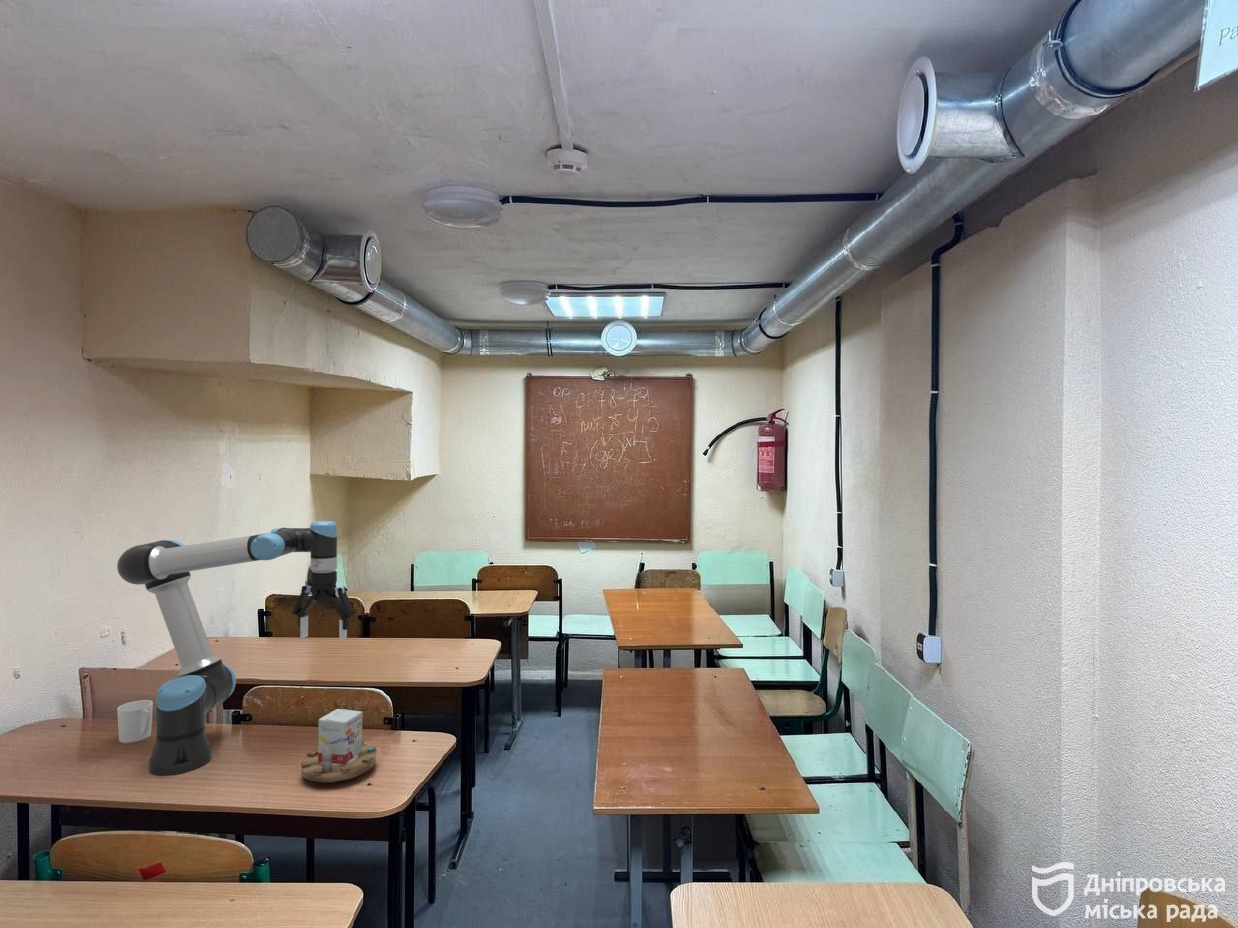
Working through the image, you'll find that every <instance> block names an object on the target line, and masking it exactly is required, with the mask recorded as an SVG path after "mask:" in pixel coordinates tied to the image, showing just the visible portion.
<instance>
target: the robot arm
mask: <svg viewBox="0 0 1238 928" xmlns="http://www.w3.org/2000/svg"><path fill="white" fill-rule="evenodd" d="M337 526H338V525H337V523H336V522H335V521H332V520H331V521H329V520H320V521H319V520H318V521H313V522H311V523H310V526H309V527H306V528H304V527H280V528H279V527H276V528H272V529H271V531H270V532H267V533H261V534H254V535H248V536H241V537H233V538H227V539H221V540H214V541H207V542H201V543H195V544H194V543H193V544H186V545H185V544H184V543H182V542H180V541H178V540H173V539H167V540H166V539H164V540H163V539H161V540H157V541H153V542H149V543H145V544H138V545H134V546H132V547H130V548H128V549H126V550H125V551H124V552H123V553H122V554H121V555H120V557H119V558H118V560H117V564H116V565H117V566H116V567H117V568H116V569H117V573H118V574H119V577H120V578H122V580H124V581H125V582H127V583H129V584H132V585H137V586H139V585H144V586H145V589H146V591H147V592H149V593H152V594H154V596H155V598H156V600H157V603H158V606H159V609H160V612H161V615H162V616H163V619H164V620H163V621H164V623H165V625H166V626H165V627H166V628H167V631H168V633H169V637H170V638H171V642H172V644H173V647H174V650H175V652H176V653H175V654H176V655H177V659H178V661H179V664H180V667H181V669H180V670H179V671H178V674H177V676H178V677H177V678H173V679H169V680H168V681H166V682H164V683H163V684H162V685H161V686H160V687H159V689H158V690H157V691H156V692H157V693H156V699H155V706H156V742H155V743H154V747H153V749H152V753H151V756H150V758H149V760H148V772H149V773H151V774H153V775H157V776H172V775H178V774H182V773H186V772H190V771H192V770H195V769H198V768H200V767H203V766H204V765H205V764H207V763H209V762H210V761H211V759H212V758H213V748H212V745H211V744H210V741H209V737H208V734H207V733H206V714H208V713H209V712H210V711H212V710H214V709H215V708H216V707H217V706H220V705H221V704H223V703H224V702H225V701H226V700H228V698H230V696H231V695H232V694H233V693H234V691H235V688H236V685H237V678H236V674H235V671H234V670H233V669H232V668H231V667H230V666H227V664H223V661H222V658H221V657H220V656H217V655H215V654H214V653H213V651H212V647H211V644H210V642H209V639H208V637H207V634H206V631H205V628H204V625H203V622H202V620H201V617H200V615H199V612H198V608H197V606H196V603H195V601H194V598H193V595H192V592H191V590H190V589H191V588H190V587H189V584H188V583H189V581H190V579H191V577H192V574H191V573H190V572H195V571H199V570H205V569H206V570H207V569H211V568H219V567H224V566H231V565H237V564H244V563H249V562H250V563H252V562H256V561H258V562H259V561H271V560H274V559H276V558H279V557H283V556H284V555H285V556H286V555H288V554H292V553H310V570H311V572H310V580H309V581H310V584H305V585H302V586H301V592H300V595H299V597H298V599H297V601H296V604H295V605H294V608H293V610H292V615H294V616H296V617H297V618H298V621H297V623H298V624H297V625H298V628H299V632H300V633H299V636H300V637H299V638H300V639H305V638H306V637H309V615H307V613H308V612H309V611H310V610H311V608H312V607H313V606H314V605H315V603H316V602H320V601H322V602H328V603H329V604H331V607H333V609H334V610H335V611H336V612H337V614H338V616H339V617H340V618H341V619H339V624H338V625H339V627H338V629H339V640H338V641H339V642H343V641H344V640H347V639H348V638H347V636H348V630H349V628H350V619H351V618H352V617H355V616H356V613H355V610H354V608H353V606H352V604H351V600H350V599H349V596H348V595H347V588H346V586H341V587H337V582H338V581H337V580H338V572H337V569H338V551H337V550H338V530H337V529H338V528H337ZM310 593H311V595H310ZM309 595H310V597H309ZM308 597H309V598H308ZM307 599H308V601H307Z"/></svg>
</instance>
